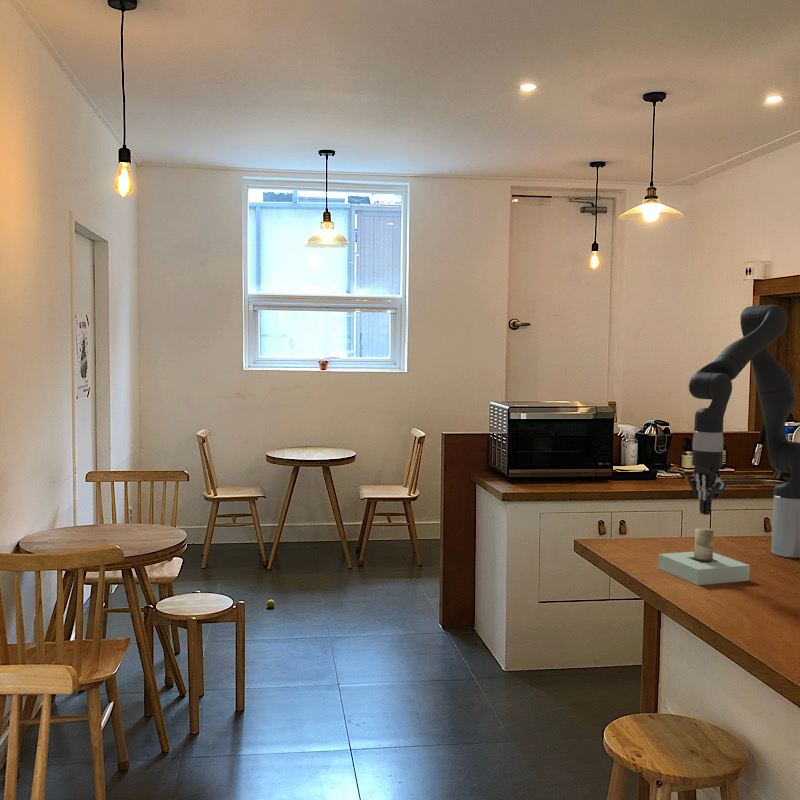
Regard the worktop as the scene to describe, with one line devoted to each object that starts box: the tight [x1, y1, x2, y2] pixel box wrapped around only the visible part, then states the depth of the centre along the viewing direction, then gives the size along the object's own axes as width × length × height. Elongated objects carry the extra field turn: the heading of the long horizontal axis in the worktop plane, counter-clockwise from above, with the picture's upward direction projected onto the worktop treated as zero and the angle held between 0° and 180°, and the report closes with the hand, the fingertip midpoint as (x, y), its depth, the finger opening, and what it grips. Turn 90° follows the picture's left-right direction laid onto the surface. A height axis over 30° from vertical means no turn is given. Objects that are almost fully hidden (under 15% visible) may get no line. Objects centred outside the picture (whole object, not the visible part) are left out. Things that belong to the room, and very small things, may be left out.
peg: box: [693, 527, 715, 563], centre depth 214 cm, size 5×5×12 cm
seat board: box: [657, 551, 751, 586], centre depth 214 cm, size 16×16×4 cm
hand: (705, 514), depth 214 cm, fingers closed
